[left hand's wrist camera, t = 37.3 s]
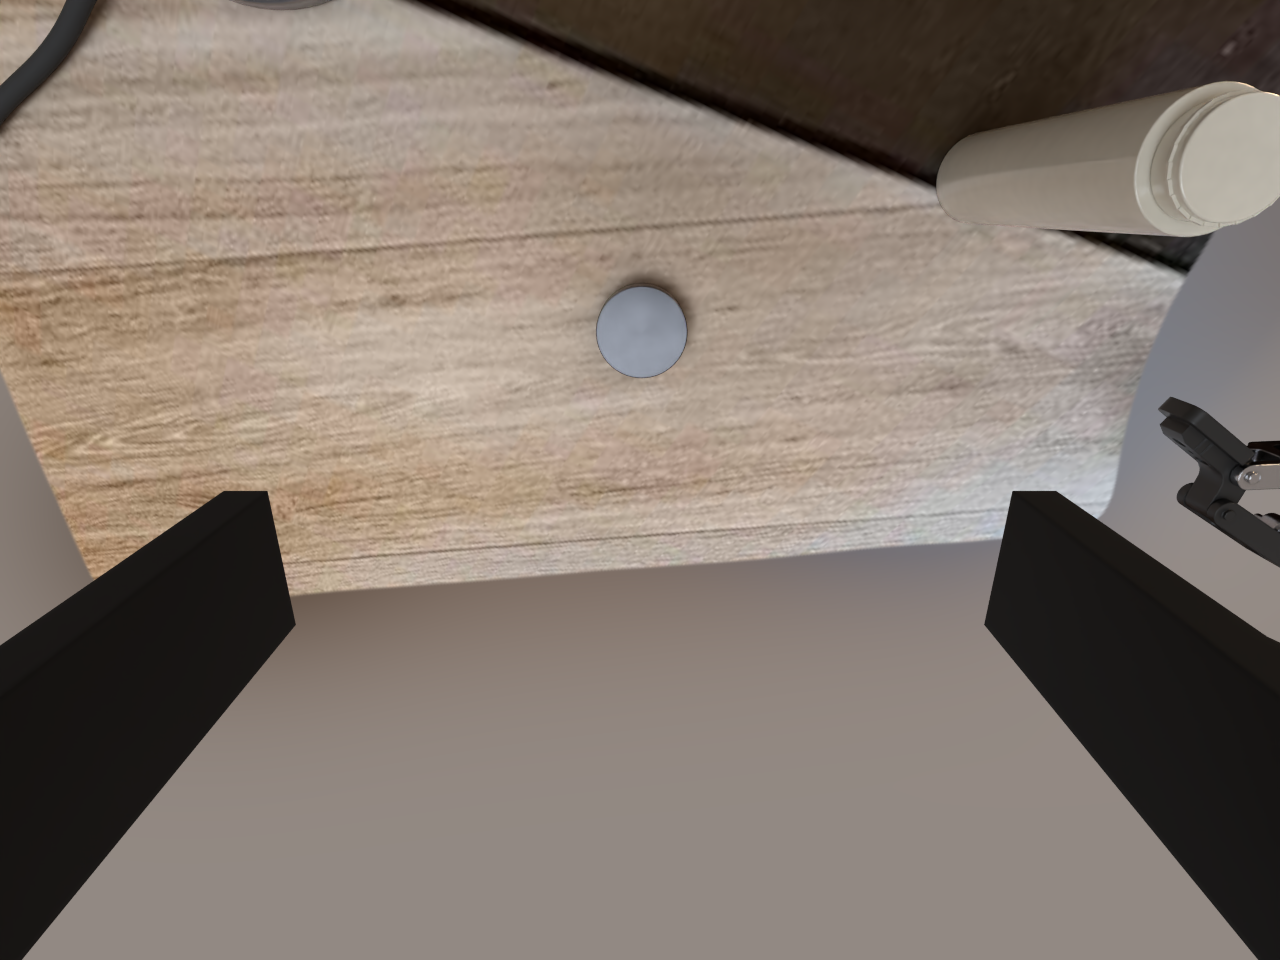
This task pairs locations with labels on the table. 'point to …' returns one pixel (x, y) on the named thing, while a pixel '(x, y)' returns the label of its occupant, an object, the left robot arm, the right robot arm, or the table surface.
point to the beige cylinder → (1124, 166)
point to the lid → (641, 330)
